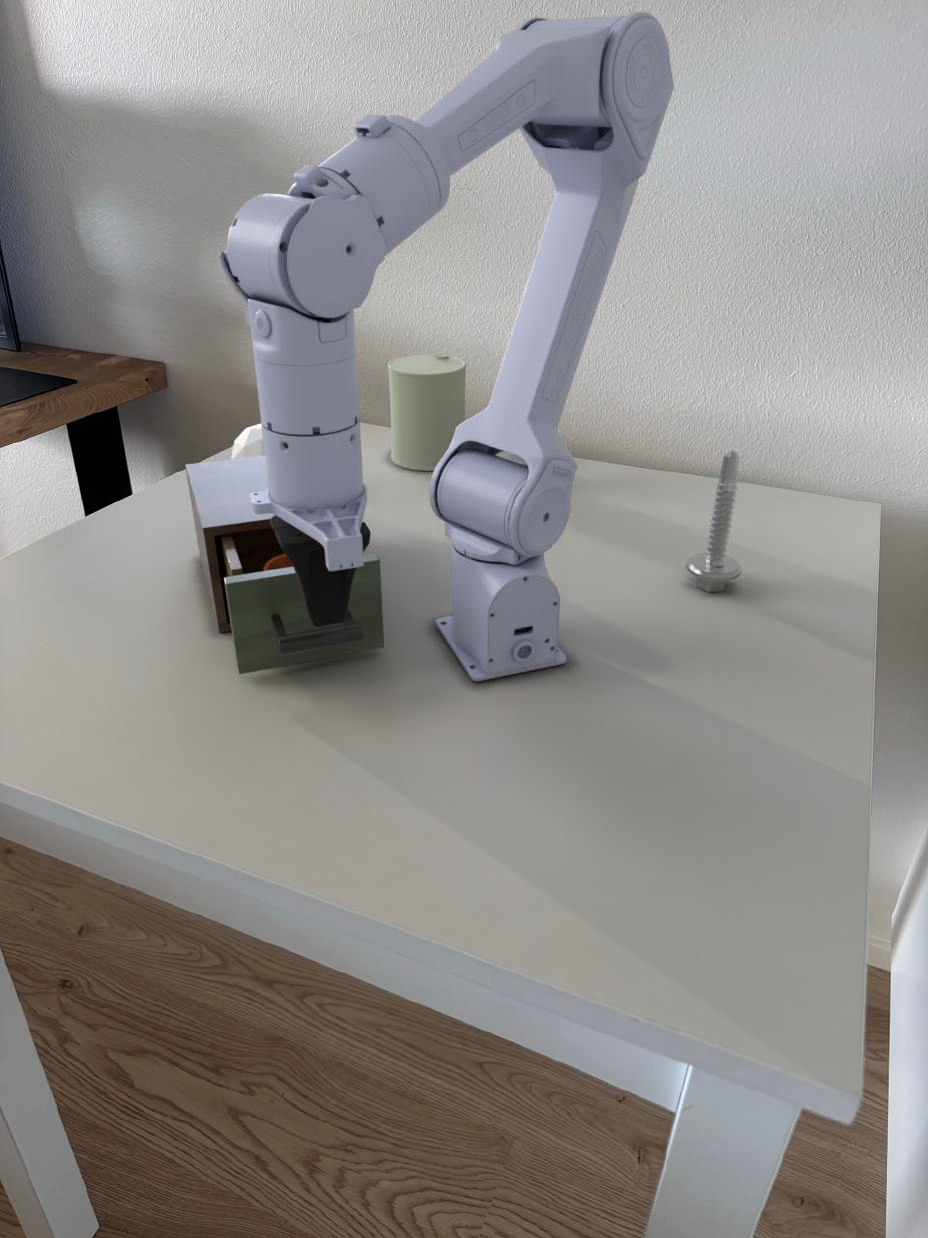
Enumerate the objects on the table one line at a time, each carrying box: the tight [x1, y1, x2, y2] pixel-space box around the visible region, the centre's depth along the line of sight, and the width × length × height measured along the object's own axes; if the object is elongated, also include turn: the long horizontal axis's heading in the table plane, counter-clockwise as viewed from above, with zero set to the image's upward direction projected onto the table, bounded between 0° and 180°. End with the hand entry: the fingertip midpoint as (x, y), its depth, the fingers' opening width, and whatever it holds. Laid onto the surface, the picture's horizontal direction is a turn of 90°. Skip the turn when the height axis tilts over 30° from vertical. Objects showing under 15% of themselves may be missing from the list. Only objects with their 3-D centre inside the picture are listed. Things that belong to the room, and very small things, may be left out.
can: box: [387, 353, 467, 472], centre depth 108 cm, size 9×9×12 cm
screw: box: [685, 450, 742, 593], centre depth 79 cm, size 13×5×5 cm
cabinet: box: [184, 455, 275, 634], centre depth 81 cm, size 15×13×10 cm
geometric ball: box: [230, 422, 265, 459], centre depth 100 cm, size 8×8×8 cm
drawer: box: [217, 528, 385, 675], centre depth 72 cm, size 18×11×8 cm, turn 20°
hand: (327, 619), depth 60 cm, fingers closed
